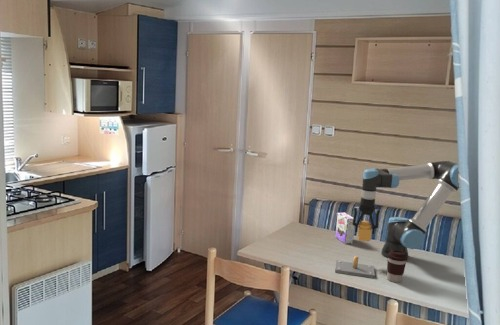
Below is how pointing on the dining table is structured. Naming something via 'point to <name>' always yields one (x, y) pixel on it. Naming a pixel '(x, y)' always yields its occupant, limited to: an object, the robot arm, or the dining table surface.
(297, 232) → the dining table surface
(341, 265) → the plate
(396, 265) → the coffee cup
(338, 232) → the candy box
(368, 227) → the wire nut
